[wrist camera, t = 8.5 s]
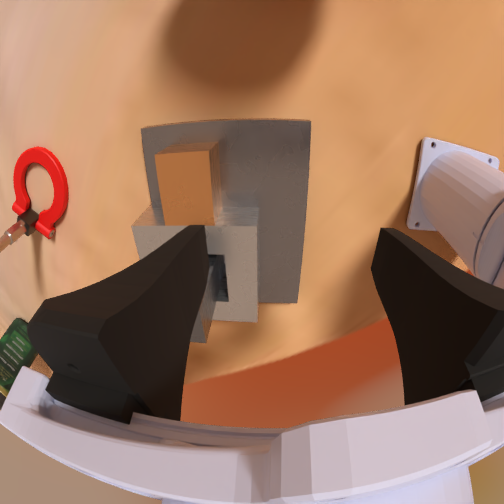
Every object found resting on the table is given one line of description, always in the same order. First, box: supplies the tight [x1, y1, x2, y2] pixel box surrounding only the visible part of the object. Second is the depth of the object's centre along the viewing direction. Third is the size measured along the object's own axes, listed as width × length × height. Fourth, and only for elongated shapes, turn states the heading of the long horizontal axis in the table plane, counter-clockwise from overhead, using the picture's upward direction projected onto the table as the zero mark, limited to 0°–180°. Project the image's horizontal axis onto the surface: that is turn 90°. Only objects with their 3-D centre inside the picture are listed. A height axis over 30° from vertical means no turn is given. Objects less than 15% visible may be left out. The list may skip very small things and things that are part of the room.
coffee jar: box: [0, 318, 38, 410], centre depth 30 cm, size 10×8×19 cm
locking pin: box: [190, 254, 225, 343], centre depth 20 cm, size 3×3×8 cm
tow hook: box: [0, 147, 68, 252], centre depth 16 cm, size 8×13×9 cm
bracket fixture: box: [131, 119, 311, 322], centre depth 20 cm, size 12×16×4 cm
